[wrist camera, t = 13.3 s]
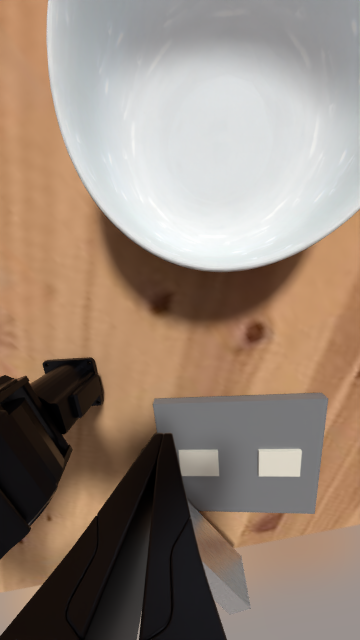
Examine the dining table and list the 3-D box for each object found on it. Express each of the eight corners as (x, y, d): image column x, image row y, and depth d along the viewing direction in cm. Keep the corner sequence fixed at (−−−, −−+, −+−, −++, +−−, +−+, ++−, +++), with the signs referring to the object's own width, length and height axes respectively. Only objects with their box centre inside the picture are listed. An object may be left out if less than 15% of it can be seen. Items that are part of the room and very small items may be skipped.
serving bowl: (69, 66, 15) (-34, -114, 8) (328, -69, 12) (501, -512, 5) (146, 298, 19) (122, 308, 12) (351, 237, 16) (463, 207, 9)
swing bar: (125, 466, 22) (111, 506, 18) (146, 454, 21) (136, 493, 17) (222, 563, 25) (227, 615, 21) (243, 555, 24) (252, 607, 21)
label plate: (149, 501, 26) (146, 516, 24) (130, 399, 22) (125, 409, 20) (309, 504, 24) (318, 520, 22) (321, 392, 20) (333, 402, 18)
